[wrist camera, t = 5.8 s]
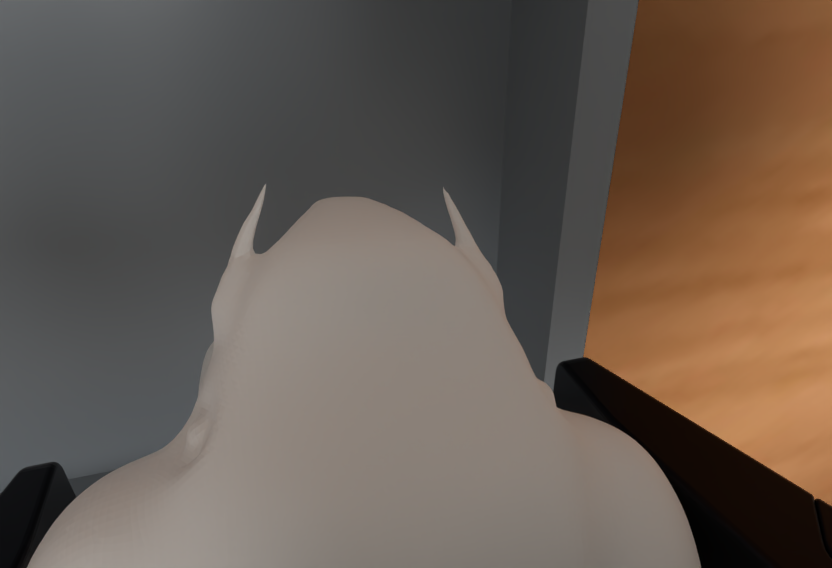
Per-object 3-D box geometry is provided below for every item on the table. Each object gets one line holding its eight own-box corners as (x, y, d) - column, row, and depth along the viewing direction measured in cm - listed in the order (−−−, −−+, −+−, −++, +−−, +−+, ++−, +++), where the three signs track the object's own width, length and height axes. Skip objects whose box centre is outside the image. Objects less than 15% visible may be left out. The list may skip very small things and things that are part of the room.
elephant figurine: (589, 107, 9) (1018, 460, 4) (488, 515, 14) (650, 906, 9) (-6, 102, 7) (-346, 693, 3) (101, 575, 12) (47, 1109, 7)
